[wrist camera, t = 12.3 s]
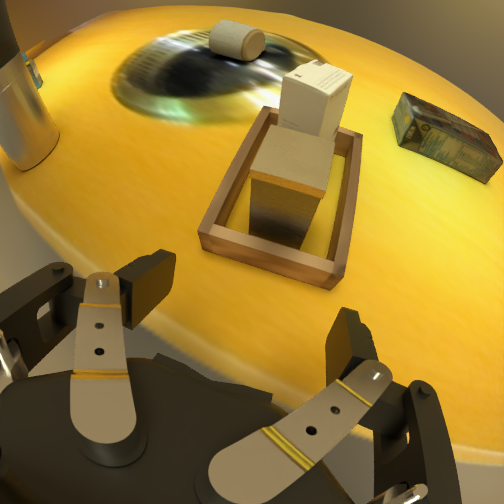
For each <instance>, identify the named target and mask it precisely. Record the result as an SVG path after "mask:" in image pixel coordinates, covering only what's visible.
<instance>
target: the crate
mask: <svg viewBox="0 0 504 504" xmlns="http://www.w3.org/2000/svg"><path fill="white" fill-rule="evenodd" d="M278 115H279V109H276V108H272V107H267V106H263V108H262V109H261V111H260V113H259V115H258V116H257V118H256V120H255V122H254V123H253V125H252V127H251V129H250V130H249V132H248V134H247V136H246V137H245V139H244V141H243V143H242V145H241V146H240V148H239V150H238V152H237V154H236V156H235V158H234V159H233V161H232V163H231V165H230V167H229V169H228V171H227V173H226V174H225V176H224V178H223V180H222V182H221V184H220V186H219V188H218V190H217V192H216V194H215V196H214V198H213V200H212V202H211V204H210V206H209V208H208V210H207V212H206V214H205V216H204V218H203V220H202V222H201V224H200V226H199V228H198V230H197V231H198V235H199V238H200V242H201V245H202V249H203V250H206V251H209V252H212V253H215V254H218V255H221V256H224V257H227V258H230V259H233V260H236V261H240V262H243V263H246V264H249V265H252V266H255V267H258V268H261V269H264V270H267V271H271V272H274V273H277V274H280V275H283V276H286V277H289V278H293V279H296V280H299V281H302V282H305V283H308V284H312V285H315V286H318V287H321V288H324V289H328V290H331V289H332V288H333V287H334V286H335V285H336V284H337V283H338V282H339V281H340V280H341V279H342V278H343V277H344V273H345V268H346V263H347V257H348V252H349V246H350V240H351V234H352V228H353V221H354V214H355V207H356V200H357V192H358V183H359V174H360V163H361V152H362V138H363V135H362V134H360V133H357V132H354V131H351V130H348V129H345V128H343V127H340V126H339V127H338V130H337V134H336V137H335V140H334V142H335V147H334V153H335V154H338V155H341V156H344V157H346V159H345V166H344V172H343V179H342V185H341V190H340V196H339V202H338V207H337V212H336V218H335V223H334V228H333V233H332V237H331V242H330V247H329V251H328V256H327V259H324V258H321V257H318V256H315V255H312V254H308V253H305V252H302V251H299V250H296V249H293V248H290V247H287V246H283V245H280V244H277V243H274V242H271V241H267V240H264V239H261V238H258V237H255V236H251V235H248V234H245V233H242V232H239V231H235V230H232V229H229V228H226V227H224V226H225V224H226V222H227V219H228V217H229V215H230V213H231V210H232V208H233V206H234V204H235V202H236V199H237V197H238V195H239V193H240V191H241V188H242V186H243V184H244V182H245V180H246V178H247V175H248V173H249V171H250V168H251V165H252V163H253V161H254V159H255V157H256V155H257V153H258V150H259V148H260V146H261V144H262V142H263V140H264V138H265V136H266V134H267V131H268V129H269V127H270V125H275V126H277V124H278Z"/></svg>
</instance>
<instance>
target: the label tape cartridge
mask: <svg viewBox="0 0 504 504" xmlns="http://www.w3.org/2000/svg"><path fill="white" fill-rule="evenodd" d="M22 57H23V59H24V61H25V64H26V66H27V68H28V71H29V73H30V75H31V77H32V80H33V82H34V84H35V86H36V88H37V89H38V88H40V87H41V85H42V83H43V81H42V78H41V76H40V74H39V71H38V69H37V67H36V64H35V62H34V60H33V59H28V58H27V56H26V54H25V52H24V53H23V54H22Z"/></svg>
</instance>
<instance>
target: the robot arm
mask: <svg viewBox="0 0 504 504" xmlns="http://www.w3.org/2000/svg"><path fill="white" fill-rule="evenodd" d="M58 139H59V131H58V129H57V128H56V126H55V124H54V122H53V120H52V118H51V116H50V114H49V112H48V110H47V108H46V106H45V105H44V103H43V101H42V98H41V96H40V94H39V92H38V90H37V88H36V86H35V84H34V82H33V80H32V77H31V75H30V73H29V71H28V68H27V66H26V64H25V61H24V59H23V57H22V54H21V52H20V49H19V46H18V44H17V41H16V38H15V35H14V33H13V30H12V26H11V23H10V20H9V16H8V12H7V7H6V2H5V0H0V145H1V147H2V148H3V149H4V151H5V152H6V154H7V155H8V156H9V158H10V159H11V160H12V162H13V163H14V164H15V166H16V167H17V168H18V169H19V170H20V171H25V170H28V169H30V168H32V167H34V166H35V165H37V164H38V163H40V162H41V161H42V160H43V159H44V158H45V157H46V156H47V155H48V154H49V153H50V152H51V151H52V149H53V148H54V147H55V145H56V143H57V141H58ZM175 263H176V254H175V253H172V252H169V251H166V250H163V249H159V250H158V251H156V252H155V253H153V254H152V255H146V256H142V257H139V258H137V259H135V260H134V261H133V262H130V263H129V264H128V265H126V266H124V267H122V268H121V269H119V270H118V271H116V272H115V273H113V274H112V273H108V272H96V273H93V274H91V275H89V276H88V277H87V279H83V278H79V277H74V276H73V267H72V266H71V265H70V264H68V263H64V262H55V263H51V264H49V265H47V266H45V267H43V268H42V269H40V270H38V271H36V272H35V273H33V274H31V275H30V276H28V277H26V278H24V279H23V280H21V281H20V282H18V283H16V284H15V285H13V286H11V287H10V288H8V289H7V290H5V291H4V292H2V293H1V294H0V504H355V503H354V502H353V501H352V499H351V498H350V497H349V496H348V494H347V493H346V492H345V491H344V489H343V488H342V486H341V485H340V484H339V483H338V481H337V480H336V479H335V477H334V476H333V474H332V473H331V472H330V470H329V469H328V467H327V466H326V465H325V463H324V462H323V460H322V459H323V458H324V457H325V456H326V455H327V454H328V453H329V452H330V451H331V450H332V449H333V448H334V447H335V446H336V445H337V444H338V443H339V442H340V441H341V440H342V439H343V438H344V437H345V436H346V435H347V434H348V433H349V432H350V431H351V430H352V429H353V428H354V427H355V426H356V424H359V425H361V426H363V427H366V428H368V429H371V430H373V440H374V498H373V499H371V500H370V501H369V502H368V503H367V504H462V501H461V493H460V486H459V480H458V475H457V470H456V464H455V459H454V455H453V450H452V446H451V442H450V438H449V434H448V430H447V426H446V423H445V419H444V416H443V413H442V409H441V406H440V403H439V400H438V397H437V394H436V392H435V390H434V389H433V387H432V386H430V385H429V384H428V383H426V382H424V381H421V380H415V381H413V382H411V384H410V385H409V386H408V388H407V387H405V386H403V385H400V384H398V383H396V382H394V381H392V379H393V376H392V373H391V371H390V369H389V368H388V367H387V366H386V365H384V364H383V363H381V362H379V360H378V356H377V353H376V349H375V346H374V342H373V340H372V335H371V332H370V330H369V329H368V328H367V326H366V325H365V324H363V323H361V321H360V318H359V314H358V311H355V310H352V309H348V308H345V307H342V308H341V309H340V311H339V313H338V315H337V317H336V319H335V321H334V324H333V326H332V328H331V330H330V332H329V334H328V337H327V340H326V344H325V352H326V388H325V389H323V390H322V391H321V392H319V393H318V394H317V395H315V396H314V397H313V398H311V399H310V400H309V401H307V402H306V403H305V404H303V405H302V406H300V407H299V408H298V409H296V410H295V411H293V412H292V413H290V414H288V413H287V412H285V411H284V410H283V409H281V408H280V407H278V406H277V405H275V404H273V403H271V400H272V395H273V394H272V393H268V392H265V391H261V390H258V389H254V388H251V387H248V386H245V385H238V384H231V383H224V382H217V381H212V380H209V379H207V378H206V377H204V376H203V375H201V374H199V373H198V372H196V371H195V370H193V369H191V368H190V367H188V366H187V365H185V364H183V363H181V362H178V361H176V360H173V359H171V358H169V357H166V356H164V355H162V354H159V353H157V355H156V356H155V357H154V358H153V360H151V359H146V358H126V356H125V347H124V339H123V328H122V326H125V327H126V328H128V329H131V330H133V329H134V328H135V327H136V326H137V325H138V324H139V323H140V322H141V321H142V320H143V319H144V318H145V317H146V316H147V315H148V314H149V313H150V312H151V311H152V310H153V309H154V308H155V307H156V306H157V305H158V304H159V303H160V302H161V301H162V300H163V299H164V298H165V297H166V296H167V295H168V294H169V292H170V290H171V288H172V284H173V277H174V270H175ZM47 302H49V308H50V311H49V312H47V313H46V314H45V315H43V316H42V317H41V318H40V319H38V320H37V312H38V310H39V308H40V307H41V306H43V305H44V304H45V303H47ZM75 327H76V338H75V350H74V368H73V370H69V371H63V372H58V373H52V374H46V375H40V376H34V377H28V373H29V372H30V371H31V370H32V369H33V368H34V367H35V366H36V365H37V364H38V363H39V362H40V361H41V360H42V358H44V357H45V356H46V355H47V354H48V353H49V352H50V351H51V350H52V349H53V348H54V347H55V346H56V345H57V344H58V343H60V342H61V341H62V340H63V339H64V338H65V337H66V336H67V335H68V334H69V333H70V332H71V331H72V330H73V329H74V328H75ZM408 432H409V436H410V439H409V443H407V435H406V433H408Z"/></svg>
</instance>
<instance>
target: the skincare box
mask: <svg viewBox="0 0 504 504" xmlns="http://www.w3.org/2000/svg"><path fill="white" fill-rule="evenodd" d="M352 78H353V75H352V74H351V73H349V72H347V71H344V70H342V69H339V68H337V67H334V66H332V65H329V64H327V63H324V62H321V61H318V60H313V61H311V62H309V63H307V64H303V65H300V66H298V67H297V68H296V69H295V70H293V71H292V72H290V73H288V74H286V75H284V76H283V81H282V89H281V98H280V107H279V115H278V124H277V126H279V127H283V128H287V129H291V130H295V131H299V132H302V133H306V134H309V135H313V136H316V137H319V138H323V139H326V140H329V141H332V142H334V140H335V137H336V134H337V130H338V127H339V124H340V121H341V117H342V114H343V111H344V107H345V104H346V100H347V96H348V92H349V88H350V85H351V82H352Z"/></svg>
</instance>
